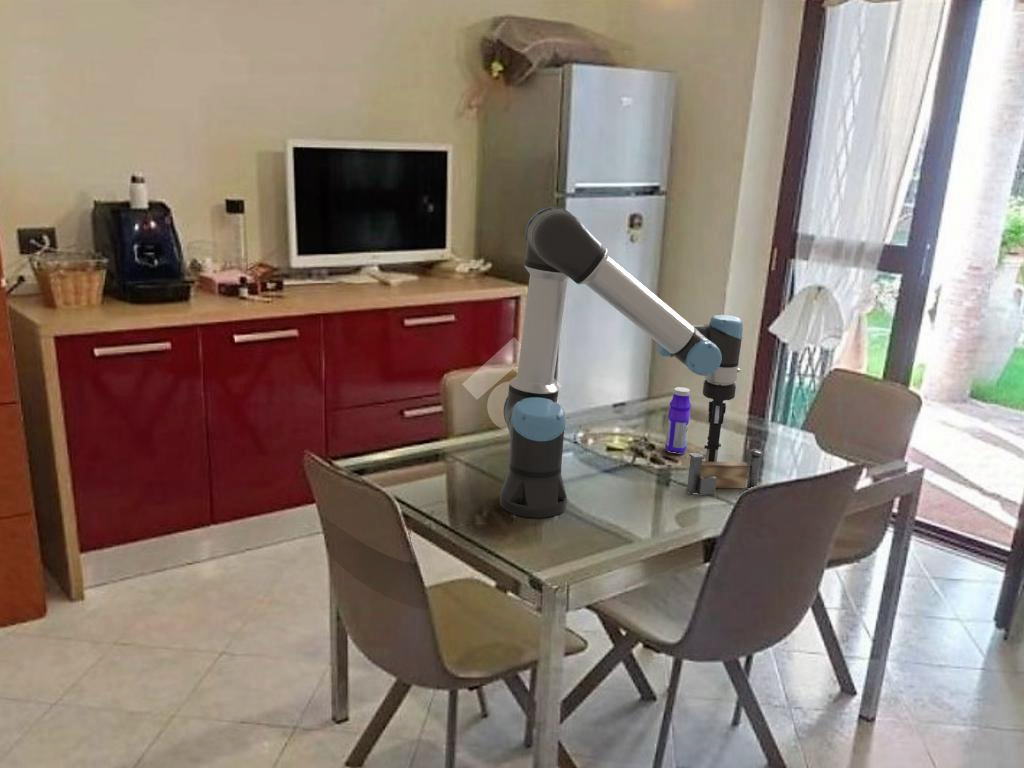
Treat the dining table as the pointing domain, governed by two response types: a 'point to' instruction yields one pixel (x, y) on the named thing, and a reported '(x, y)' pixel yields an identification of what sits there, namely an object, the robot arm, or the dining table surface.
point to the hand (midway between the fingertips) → (709, 472)
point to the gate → (726, 473)
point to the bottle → (678, 421)
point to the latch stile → (695, 481)
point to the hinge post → (754, 467)
